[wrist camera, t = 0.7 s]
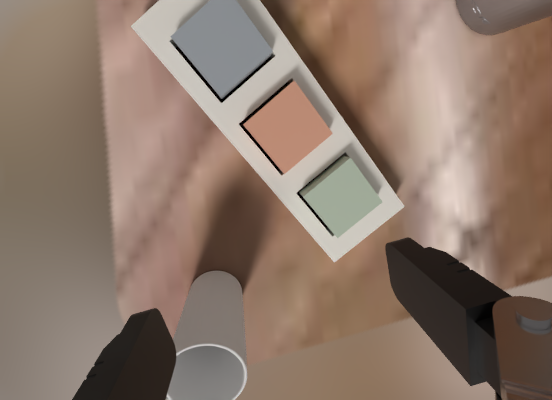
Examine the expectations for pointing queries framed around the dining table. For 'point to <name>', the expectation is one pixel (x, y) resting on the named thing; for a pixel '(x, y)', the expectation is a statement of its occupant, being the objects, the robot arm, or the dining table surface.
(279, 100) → the terracotta button
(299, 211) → the button panel
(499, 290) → the robot arm
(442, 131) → the dining table surface
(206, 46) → the grey button
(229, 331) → the mug
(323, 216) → the green button
